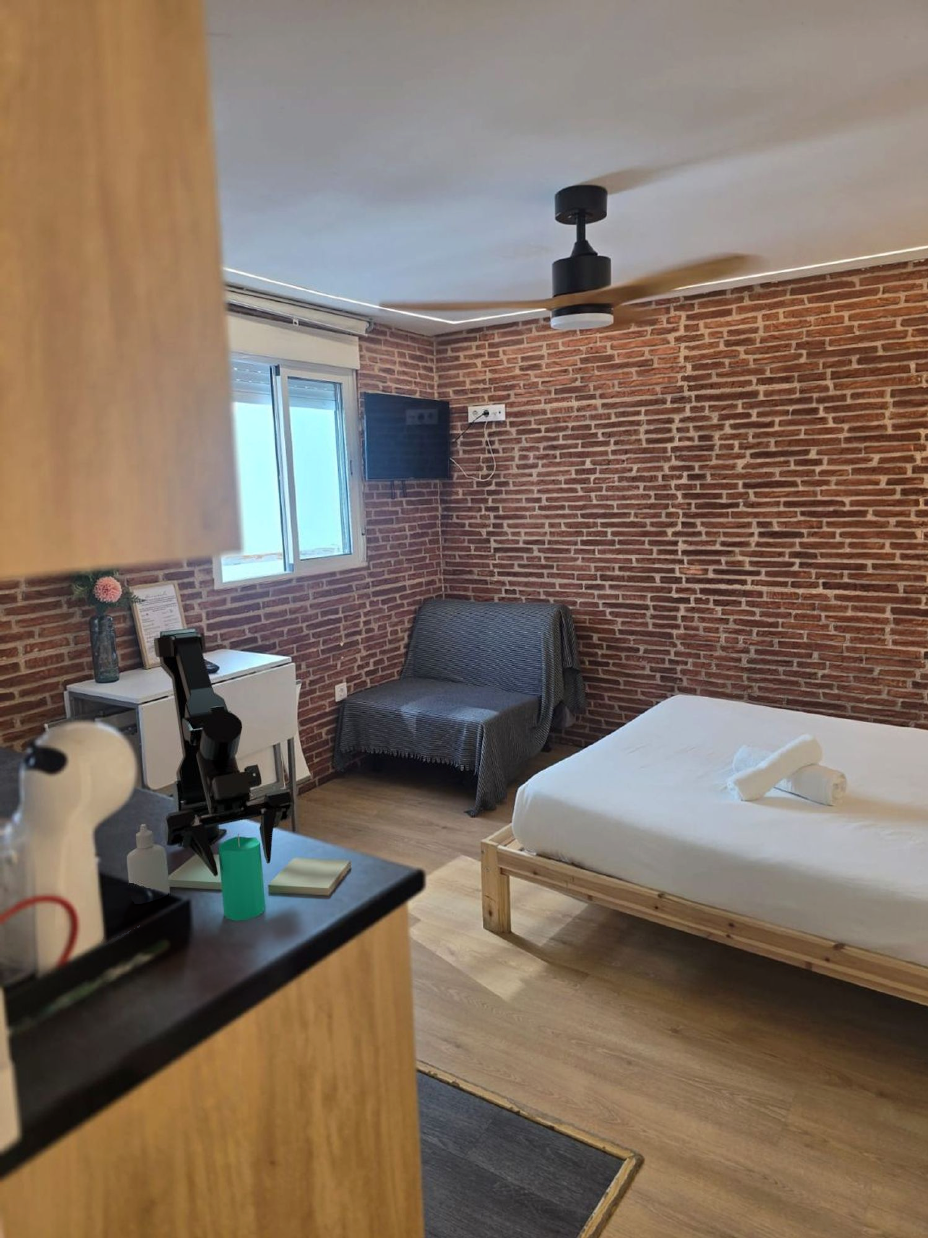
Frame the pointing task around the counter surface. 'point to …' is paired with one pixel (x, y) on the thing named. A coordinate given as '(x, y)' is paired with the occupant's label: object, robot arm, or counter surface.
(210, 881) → the sage tile
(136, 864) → the eye dropper bottle
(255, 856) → the candle
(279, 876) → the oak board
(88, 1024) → the counter surface
